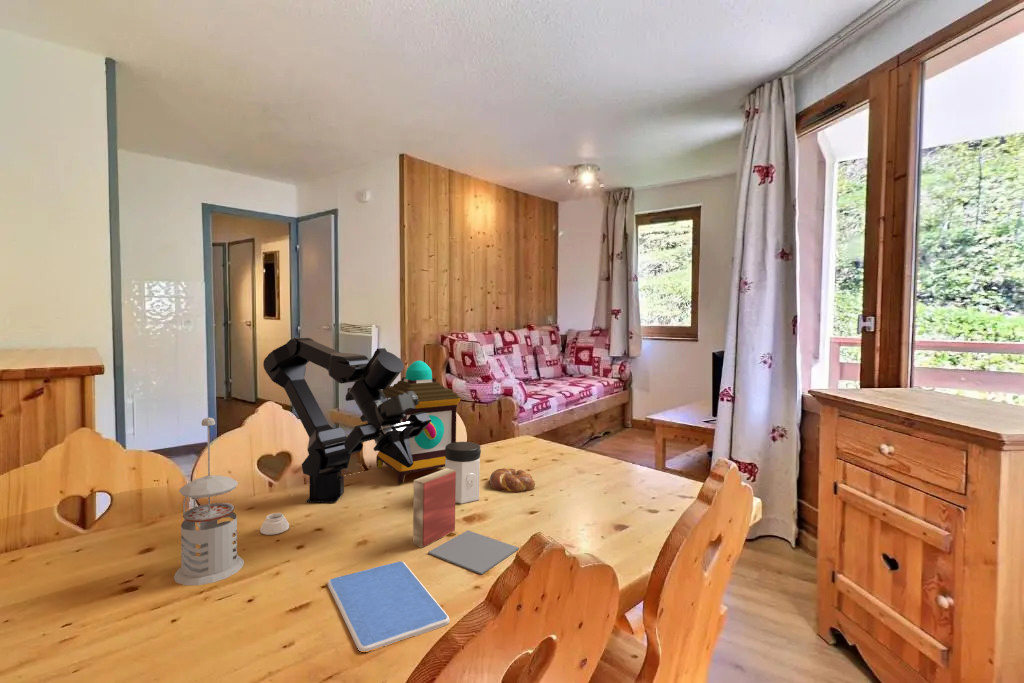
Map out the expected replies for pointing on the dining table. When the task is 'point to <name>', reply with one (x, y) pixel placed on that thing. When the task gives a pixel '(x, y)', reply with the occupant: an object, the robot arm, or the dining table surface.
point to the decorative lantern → (437, 433)
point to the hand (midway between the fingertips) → (410, 465)
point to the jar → (464, 469)
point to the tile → (434, 507)
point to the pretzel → (511, 480)
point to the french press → (208, 531)
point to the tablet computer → (385, 605)
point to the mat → (474, 551)
